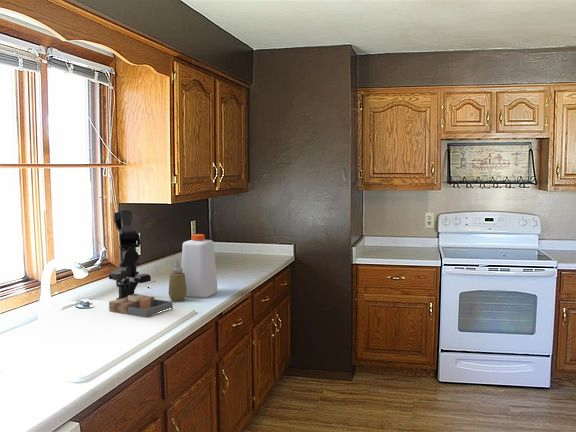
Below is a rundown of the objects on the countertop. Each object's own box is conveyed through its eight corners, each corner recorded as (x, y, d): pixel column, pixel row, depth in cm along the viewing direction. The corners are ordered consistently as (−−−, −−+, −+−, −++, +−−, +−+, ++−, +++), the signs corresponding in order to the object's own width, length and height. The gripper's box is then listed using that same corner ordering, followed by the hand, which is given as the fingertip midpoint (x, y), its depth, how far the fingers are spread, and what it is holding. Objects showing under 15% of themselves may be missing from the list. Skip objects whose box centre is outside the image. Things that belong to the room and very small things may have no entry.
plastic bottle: (207, 299, 264) (206, 237, 262) (176, 297, 268) (175, 236, 266) (220, 292, 278) (219, 233, 276) (191, 290, 283) (190, 232, 280)
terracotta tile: (139, 299, 241) (143, 300, 240) (146, 297, 245) (150, 298, 244) (139, 310, 242) (142, 311, 241) (146, 308, 246) (150, 308, 245)
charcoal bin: (127, 314, 237) (127, 307, 237) (154, 306, 251) (154, 299, 251) (146, 317, 232) (146, 309, 232) (172, 308, 246) (172, 301, 246)
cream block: (128, 300, 244) (127, 295, 244) (135, 298, 248) (135, 293, 248) (136, 301, 242) (135, 296, 242) (143, 299, 246) (143, 294, 246)
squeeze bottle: (178, 303, 256) (177, 262, 254) (164, 301, 260) (163, 260, 259) (190, 299, 263) (190, 259, 261) (177, 297, 267) (176, 258, 265)
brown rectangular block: (109, 311, 242) (109, 301, 242) (136, 303, 256) (136, 294, 256) (127, 314, 237) (127, 304, 237) (154, 305, 251) (154, 296, 251)
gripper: (98, 261, 243) (99, 298, 244) (132, 264, 234) (132, 303, 235) (118, 257, 252) (119, 293, 254) (151, 260, 243) (152, 298, 245)
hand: (130, 297), depth 247 cm, fingers closed
